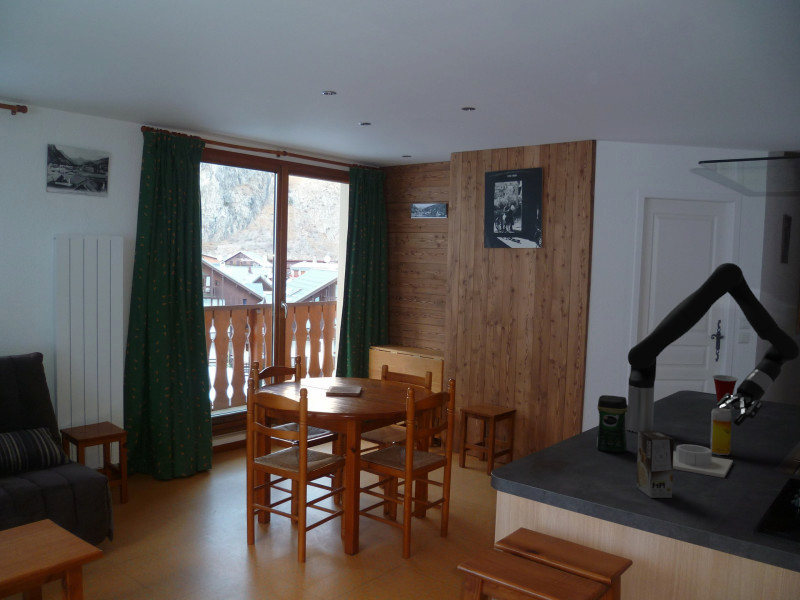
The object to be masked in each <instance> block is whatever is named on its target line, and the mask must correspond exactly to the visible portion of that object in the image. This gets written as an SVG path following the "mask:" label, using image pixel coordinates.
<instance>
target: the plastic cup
mask: <svg viewBox="0 0 800 600" xmlns="http://www.w3.org/2000/svg"><path fill="white" fill-rule="evenodd" d="M712 378H713V382H714V388H715V394H716V401H717V402H719V401H720V400H721V399H722V398H723V397H724V396H725V395H726V394H727V393H729V394H730V395H732V396H733V395H734V391H735V387H736V383H737V381H739V379H738V377H737V376H732V375H726V374H716V375H712Z"/></svg>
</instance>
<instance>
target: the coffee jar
mask: <svg viewBox="0 0 800 600" xmlns="http://www.w3.org/2000/svg"><path fill="white" fill-rule="evenodd" d="M627 405H628V400H627V398H626V397H625V396H618V395H611V394H610V395H607V394H605V395H604V394H603V395H600V396H599V398H598V403H597V412H598V416H599V417H598V430H597V437H596V448H597V449H598V450H599V451H603V452H607V451H609V453H624V452H626V450H627V432H626V412H627Z"/></svg>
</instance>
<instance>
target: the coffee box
mask: <svg viewBox="0 0 800 600" xmlns="http://www.w3.org/2000/svg"><path fill="white" fill-rule="evenodd" d="M674 446H675V439H674V438H672V437H671V436H669V435H667V434H665V433H663V432H661V431H659V430H653V431H638V433H637V455H636V456H637V457H636V459H637V461H636V488H637V489H638V490H639V491H641V492H642V493H644V494H645V495H646V496H648V497H649V498H651V499H657V498H659V499H661V498H662V499H666V498H667V499H669V498H670V499H671V498H673V484H674V483H673V482H674V481H673V478H674V477H673V476H674V469H673V452H674V451H675V449H674V448H675V447H674Z"/></svg>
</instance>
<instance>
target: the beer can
mask: <svg viewBox="0 0 800 600" xmlns="http://www.w3.org/2000/svg"><path fill="white" fill-rule="evenodd" d="M725 408H726V407H725ZM725 408H719V407H714V408H712V410H711V413H710V414H711V415H710V417H711V419H710V440H709V441H710V444H709V445H710V446H709V449H710V450H712V455H715V454H716V456H720V455H727V456H729V454H731V447H732V445H731V443H732V442H731V441H732V440H731V439H732V420H733V419H732V412H731V411H732V410H729V409H725Z"/></svg>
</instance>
